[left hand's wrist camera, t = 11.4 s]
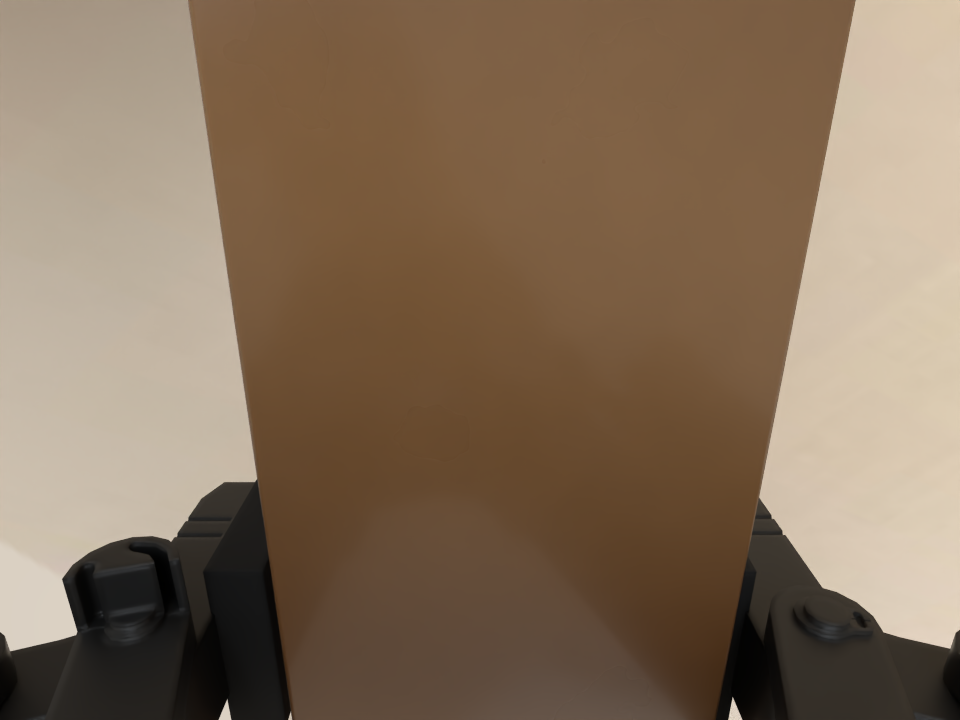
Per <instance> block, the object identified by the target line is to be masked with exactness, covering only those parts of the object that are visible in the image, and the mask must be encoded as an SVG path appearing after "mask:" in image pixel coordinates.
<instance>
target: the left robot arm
mask: <svg viewBox="0 0 960 720" xmlns="http://www.w3.org/2000/svg"><path fill="white" fill-rule="evenodd" d="M62 580H63V584H64V587H65V590H66V594H67V597H68V601H69V604H70V608H71V611H72V614H73V618H74V621H75V624H76V628H77V631H78V632H77V635H76V636H72V637H69V638H66V639H62V640H58V641H54V642H50V643H45V644H41V645H36V646H32V647H28V648H24V649H19V650H15V651H10V650H9V647H8V644H7V641H6V638H5V636H4V635H3V634H2V633H0V720H219V717H220V715H221V712H222V710H223V708H224V705H225V703H226V701H227V699H228V704H229V709H230V715H231V720H288V718H289V715H290V712H291V708H290V701H289V694H288V687H287V680H286V673H285V666H284V659H283V653H282V646H281V639H280V632H279V625H278V618H277V611H276V604H275V597H274V591H273V584H272V577H271V570H270V563H269V556H268V549H267V542H266V535H265V528H264V522H263V515H262V508H261V501H260V494H259V487H258V480H256V482H224V483H223V484H222V485H220V486H219V487H217V488H216V489H214V490H213V491H212V492H210V493H209V494H207V495H206V496H205V497H203V498H202V499H201V500H200V502H199V503H198V505H197V506H196V508H195V509H194V510H193V512H192V513H191V515H190V516H189V520H188V521H186V522H185V523H184V525H183V526H182V528H181V529H180V530H179V532H178V536H177V537H175V538H174V539H173V540H172V542H170V541H169V540H166V539H162V538H158V537H153V536H148V537H132V538H128V539H124V540H120V541H116V542H112V543H109V544H107V545H105V546H103V547H101V548H99V549H96V550H94V551H92V552H90V553H88V554H87V555H86V556H84V557H83V558H82V559H80V560H79V561H78V562H76V563H75V564H73V565H72V567H71V568H70V569H69V571H68V572H67V573H66V575H65V576H64V577H63V579H62ZM732 697H733V698H734V701H735V703H736V706H737V708H738V710H739V713H740V715H741V717H742V720H960V630H959V631H958V632H956V634H955V637H954V640H953V643H952V646H951V648H950V649H948V648H944V647H940V646H935V645H931V644H927V643H922V642H918V641H913V640H909V639H905V638H900V637H897V636H893V635H890V634H887V633H883V631H882V629H881V628H880V626H879V625H878V623H877V622H876V620H875V619H874V617H873V616H872V615H871V614H870V613H869V612H867V611H866V610H865V609H864V608H863V607H861V606H860V605H859V604H858V603H857V602H855V601H853V600H851V599H849V598H847V597H845V596H843V595H841V594H839V593H837V592H834V591H831V590H827V589H824V588H822V587H821V585H820V584H819V582H818V581H817V580H816V578H815V577H814V575H813V574H812V572H811V571H810V570H809V568H808V567H807V565H806V564H805V563H804V561H803V560H802V558H801V557H800V555H799V554H798V553H797V551H796V550H795V548H794V547H793V545H792V544H791V543H790V541H789V540H788V538H787V537H786V535H783V534H782V530H781V528H780V527H779V525H778V524H777V523H776V521H775V520H774V519H772V518H771V514H770V513H769V511H768V510H767V508H766V507H765V506H764V504H763V503H762V501H761V500H760V498H759V499H758V505H757V510H756V515H755V520H754V525H753V530H752V535H751V541H750V546H749V551H748V556H747V561H746V566H745V572H744V577H743V582H742V587H741V592H740V597H739V602H738V608H737V613H736V618H735V623H734V628H733V633H732V638H731V644H730V649H729V654H728V659H727V664H726V669H725V674H724V680H723V685H722V690H721V695H720V700H719V705H718V710H717V716H716V720H728V718H729V713H730V707H731V702H732Z"/></svg>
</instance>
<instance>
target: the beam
mask: <svg viewBox="0 0 960 720" xmlns="http://www.w3.org/2000/svg"><path fill="white" fill-rule="evenodd" d="M188 4H189V11H190V18H191V25H192V32H193V39H194V46H195V53H196V60H197V67H198V73H199V80H200V87H201V94H202V101H203V108H204V115H205V122H206V129H207V135H208V142H209V149H210V156H211V163H212V170H213V177H214V184H215V191H216V198H217V204H218V211H219V218H220V225H221V232H222V239H223V246H224V253H225V260H226V266H227V273H228V280H229V287H230V294H231V301H232V308H233V315H234V322H235V329H236V335H237V342H238V349H239V356H240V363H241V370H242V377H243V384H244V391H245V397H246V404H247V411H248V418H249V425H250V432H251V439H252V446H253V453H254V460H255V466H256V473H257V480H258V487H259V494H260V501H261V508H262V515H263V522H264V528H265V535H266V542H267V549H268V556H269V563H270V570H271V577H272V584H273V591H274V597H275V604H276V611H277V618H278V625H279V632H280V639H281V646H282V653H283V659H284V666H285V673H286V680H287V687H288V694H289V701H290V708H291V715H292V720H716V716H717V710H718V705H719V700H720V695H721V690H722V685H723V680H724V674H725V669H726V664H727V659H728V654H729V649H730V644H731V638H732V633H733V628H734V623H735V618H736V613H737V608H738V602H739V597H740V592H741V587H742V582H743V577H744V572H745V566H746V561H747V556H748V551H749V546H750V541H751V535H752V530H753V525H754V520H755V515H756V510H757V505H758V499H759V494H760V489H761V484H762V479H763V474H764V469H765V463H766V458H767V453H768V448H769V443H770V438H771V433H772V427H773V422H774V417H775V412H776V407H777V402H778V397H779V391H780V386H781V381H782V376H783V371H784V366H785V361H786V355H787V350H788V345H789V340H790V335H791V330H792V325H793V319H794V314H795V309H796V304H797V299H798V294H799V289H800V283H801V278H802V273H803V268H804V263H805V258H806V253H807V247H808V242H809V237H810V232H811V227H812V222H813V217H814V211H815V206H816V201H817V196H818V191H819V186H820V181H821V175H822V170H823V165H824V160H825V155H826V150H827V145H828V139H829V134H830V129H831V124H832V119H833V114H834V109H835V103H836V98H837V93H838V88H839V83H840V78H841V73H842V67H843V62H844V57H845V52H846V47H847V42H848V36H849V31H850V26H851V21H852V16H853V11H854V6H855V0H188Z"/></svg>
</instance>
